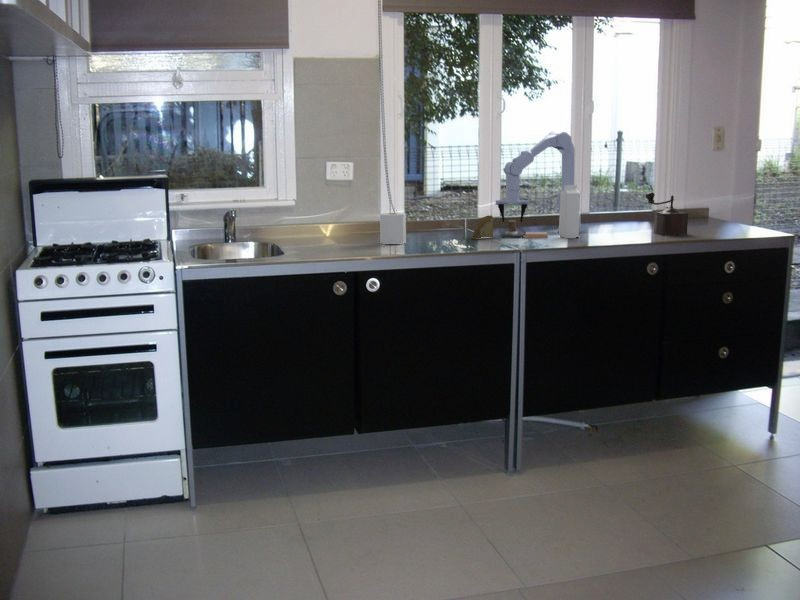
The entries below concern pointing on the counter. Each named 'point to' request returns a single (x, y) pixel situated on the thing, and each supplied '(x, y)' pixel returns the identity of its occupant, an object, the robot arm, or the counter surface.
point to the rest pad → (520, 234)
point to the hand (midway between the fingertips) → (512, 221)
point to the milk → (569, 212)
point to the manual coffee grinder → (668, 218)
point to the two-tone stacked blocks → (512, 228)
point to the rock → (484, 228)
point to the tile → (536, 234)
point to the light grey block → (392, 228)
